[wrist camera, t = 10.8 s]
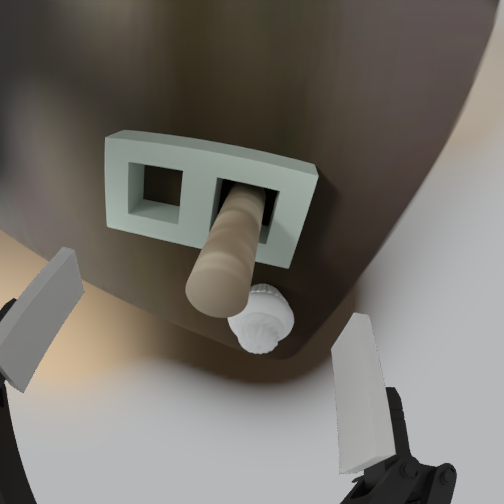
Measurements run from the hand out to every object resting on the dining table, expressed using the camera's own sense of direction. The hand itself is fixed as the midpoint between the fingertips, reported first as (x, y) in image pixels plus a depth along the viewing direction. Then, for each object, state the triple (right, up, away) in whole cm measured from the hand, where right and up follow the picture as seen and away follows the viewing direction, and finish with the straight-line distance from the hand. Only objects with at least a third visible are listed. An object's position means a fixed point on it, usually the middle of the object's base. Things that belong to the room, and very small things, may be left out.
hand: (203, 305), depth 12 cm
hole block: (-2, +8, +11) cm, 13 cm away
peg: (+2, +7, +11) cm, 13 cm away
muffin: (+3, -2, +17) cm, 17 cm away
